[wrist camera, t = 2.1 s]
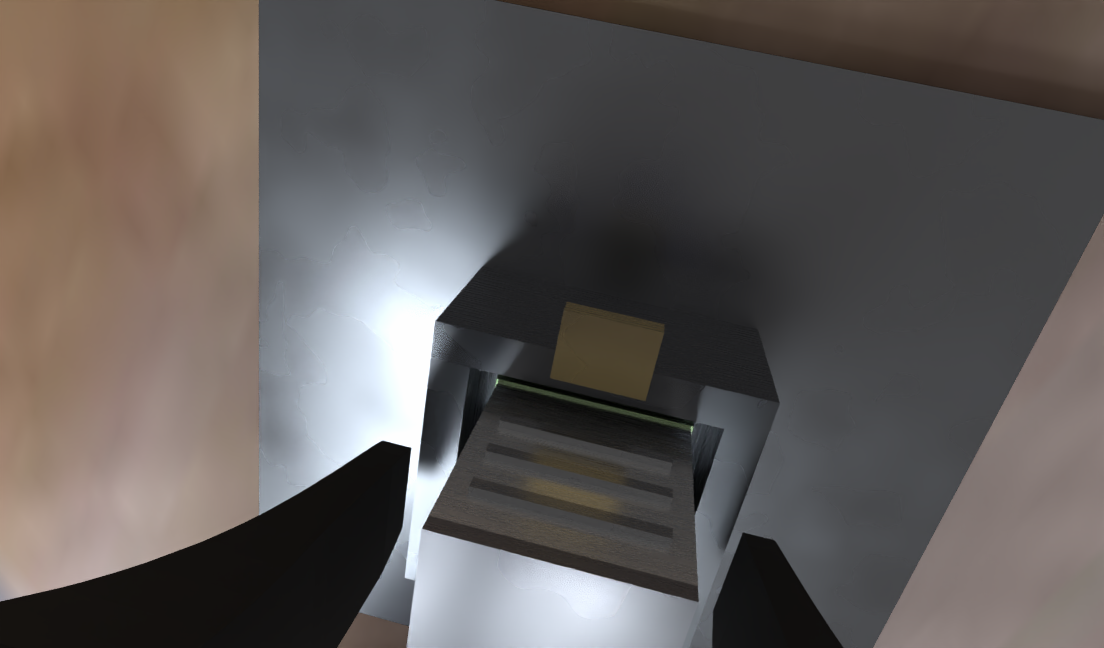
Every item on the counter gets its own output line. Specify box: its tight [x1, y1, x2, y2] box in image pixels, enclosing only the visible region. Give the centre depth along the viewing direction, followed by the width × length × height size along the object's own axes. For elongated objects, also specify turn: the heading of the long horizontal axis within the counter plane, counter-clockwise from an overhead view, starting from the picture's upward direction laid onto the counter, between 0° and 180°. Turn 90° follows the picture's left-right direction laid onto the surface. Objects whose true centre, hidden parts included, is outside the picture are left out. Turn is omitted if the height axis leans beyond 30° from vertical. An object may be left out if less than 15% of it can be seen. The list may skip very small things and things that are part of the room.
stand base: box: [259, 0, 1104, 648], centre depth 16 cm, size 18×18×5 cm
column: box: [407, 374, 699, 648], centre depth 13 cm, size 4×4×7 cm
